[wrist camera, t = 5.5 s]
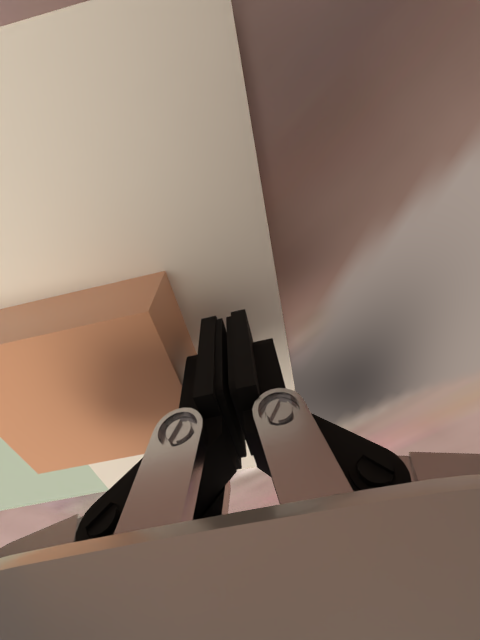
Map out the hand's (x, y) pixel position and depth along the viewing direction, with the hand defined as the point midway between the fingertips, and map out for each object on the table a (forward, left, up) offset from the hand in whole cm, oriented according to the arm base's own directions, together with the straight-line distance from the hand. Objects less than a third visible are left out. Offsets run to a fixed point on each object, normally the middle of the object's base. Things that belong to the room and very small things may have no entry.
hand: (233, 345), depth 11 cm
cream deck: (+4, 0, -4) cm, 6 cm away
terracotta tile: (+5, 0, -1) cm, 5 cm away
